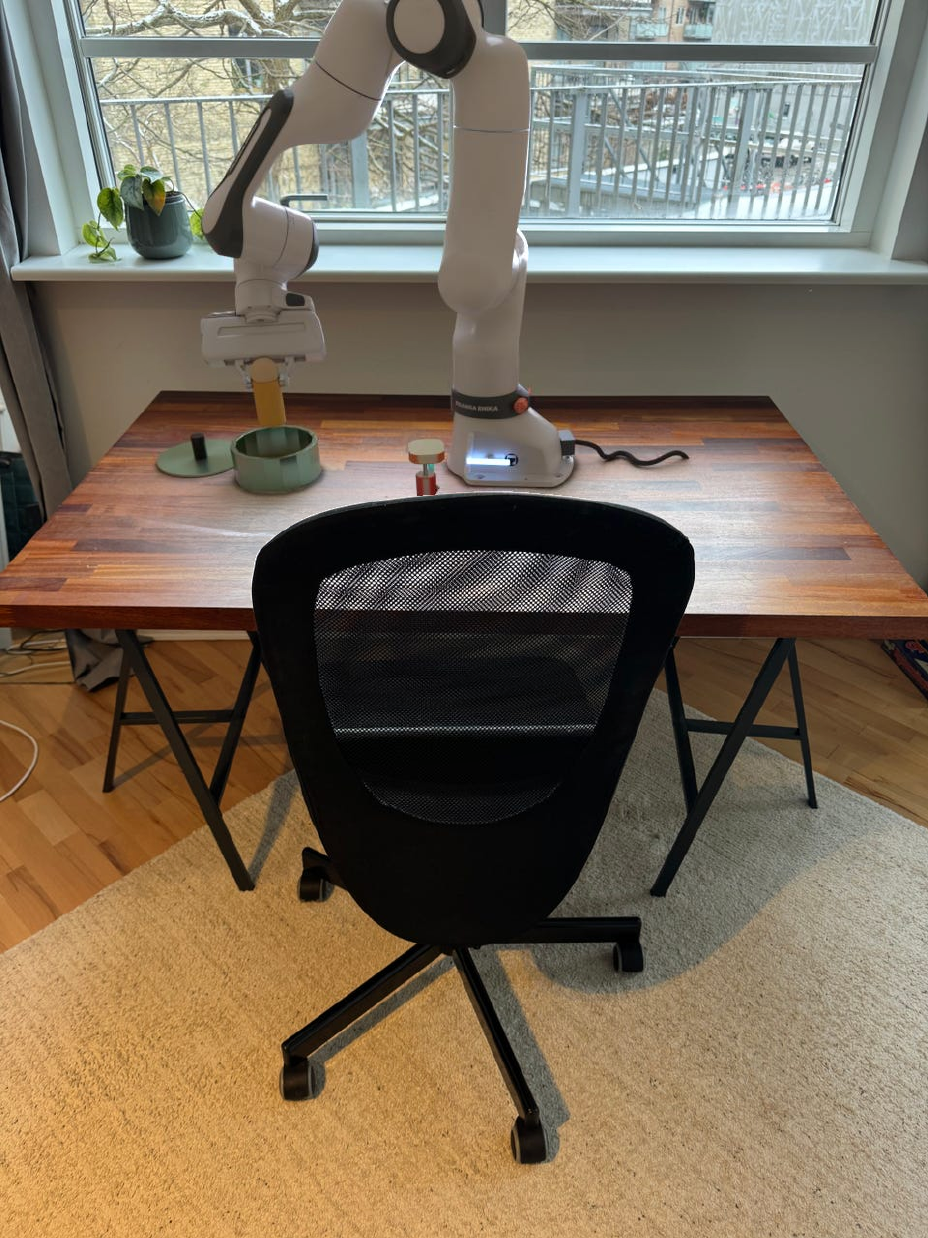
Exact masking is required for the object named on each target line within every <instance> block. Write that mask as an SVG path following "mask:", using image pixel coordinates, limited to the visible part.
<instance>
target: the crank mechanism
mask: <svg viewBox="0 0 928 1238" xmlns="http://www.w3.org/2000/svg"><path fill="white" fill-rule="evenodd" d="M407 451H408V453H407V454H408V461H409V462H410V463H411V464H414V465H422V469H423V470H419V471H417V472H416V473H415V488H416V489H415V490H416V491H415V492H416V496H423V495H435V494H437V493H438V491H439V490H440V486H439V485H438V484H437V474H436V472H435V467H434V466H435V464H440V463H442V462H443V461H444V460H445V457H446V456H445V455H446V454H445V453H446V452H445V442H444V441H443V440H441V439H438V438H423V439H414V440H411V441H409V443H408V444H407ZM437 495H438V494H437Z"/></svg>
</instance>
